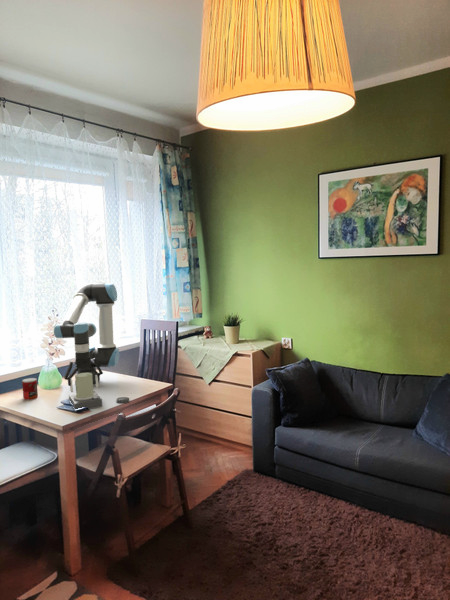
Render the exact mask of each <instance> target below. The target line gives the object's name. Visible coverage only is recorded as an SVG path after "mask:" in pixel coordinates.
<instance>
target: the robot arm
mask: <svg viewBox="0 0 450 600" xmlns="http://www.w3.org/2000/svg"><path fill="white" fill-rule="evenodd" d="M117 300H118V291H117V287H116V286H115V284H114V283H112V282H111V283H110V282H101V283H99V282H97V283H94V282H93V283H87V284H85V285H83V286H81V287H80V288H79V289H77V291H76V292H75V293H74V295H73V297H72V303H71V304H70V307H69V308H68V311H67V313H66V314H65V317H64V318H63V321H62V322H61V324H56V325H55V326H54V327H53V335H54V337H55V338H57V339H71V338H72V339H74V351H75V353H74V354H75V360H74V361H72V360H71V361H69V364H68V368H67V370H66V372H65V375H64V377H63V379H64V380H65V381H67V386H69V387H70V392H71V393H73V392H74V389H73V380H72V379H73V377H74V376H75V375H77V374H80V373H92V379H93V386H95V387H96V388H97V389H98V388H99V384H100V382H101V381H100V380H101V375H103V374H104V372H103V371H102V369H101V368H113V367H114V368H115V367H116V366H117V365H118V362H119V360H120V349H119V348H117V345H116V344H115V343H114V328H113V327H114V326H113V325H114V323H113V321H114V320H113V306H114V305H115V302H116V301H117ZM91 302H95V306H97V309H98V310H97V311H98V330H99V331H98V334H99V335H98V336H99V344H98V346H97V349H96V347H95V346H90V338H91V337H93V336H94V335H96V332H97V327H96V325H95V324H94V323H89V322H79V319H80V317H81V315H82V313H83V311H84V309H85V306H86V305H88V304H89V303H91ZM75 365H76V366H75ZM73 366H75V367H74V368H73ZM72 368H73V370H72ZM71 370H72V372H71ZM74 385H75V386H76V380H74Z"/></svg>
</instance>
